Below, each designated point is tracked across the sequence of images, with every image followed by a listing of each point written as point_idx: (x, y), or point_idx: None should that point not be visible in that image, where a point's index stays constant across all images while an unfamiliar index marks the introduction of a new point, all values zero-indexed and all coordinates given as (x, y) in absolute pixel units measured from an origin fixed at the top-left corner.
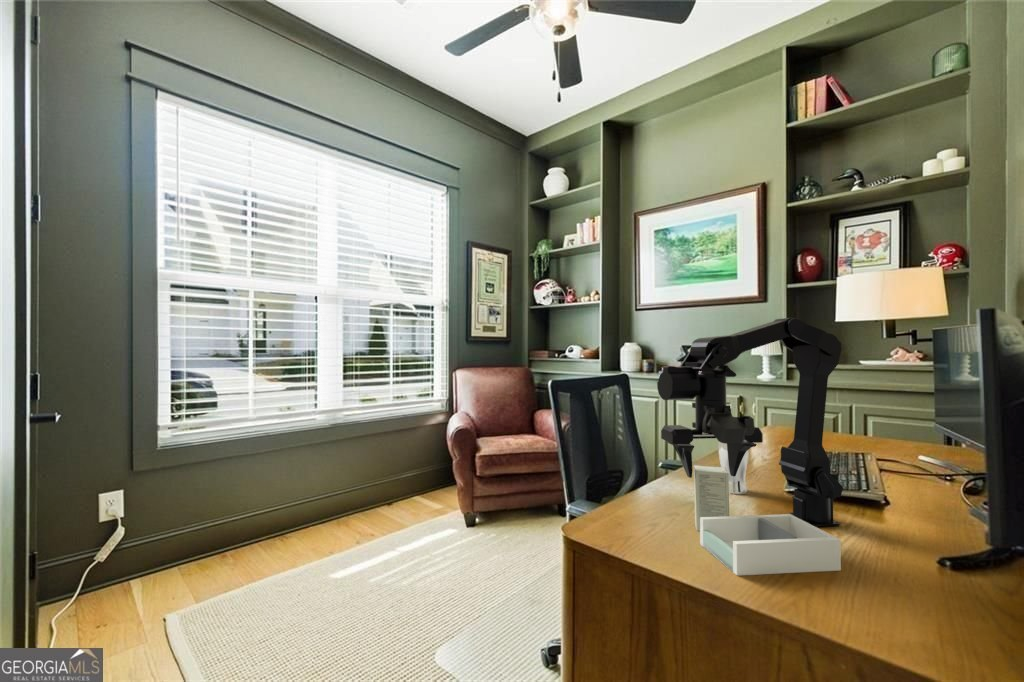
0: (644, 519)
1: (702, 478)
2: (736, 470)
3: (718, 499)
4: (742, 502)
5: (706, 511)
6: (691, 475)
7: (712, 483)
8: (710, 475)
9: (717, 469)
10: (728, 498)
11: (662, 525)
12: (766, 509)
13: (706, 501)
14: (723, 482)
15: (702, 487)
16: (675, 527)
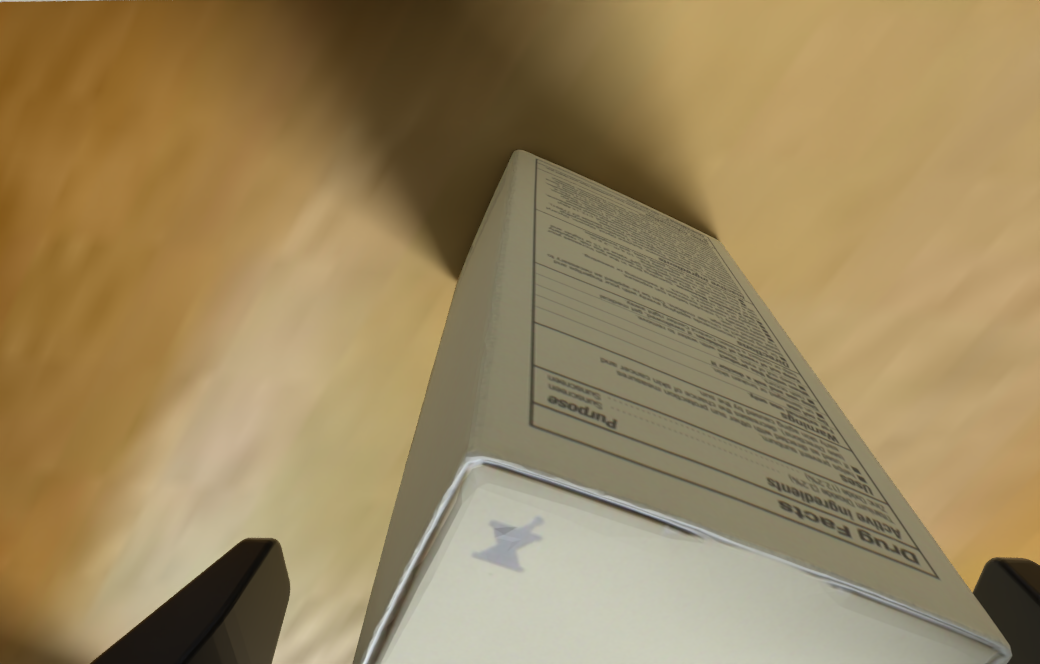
0: (965, 446)
1: (859, 501)
2: (187, 603)
3: (609, 281)
4: (156, 597)
5: (694, 273)
6: (1034, 578)
7: (703, 411)
8: (765, 506)
9: (553, 642)
10: (505, 250)
11: (913, 349)
12: (46, 501)
13: (716, 315)
14: (564, 366)
15: (806, 415)
16: (842, 310)
